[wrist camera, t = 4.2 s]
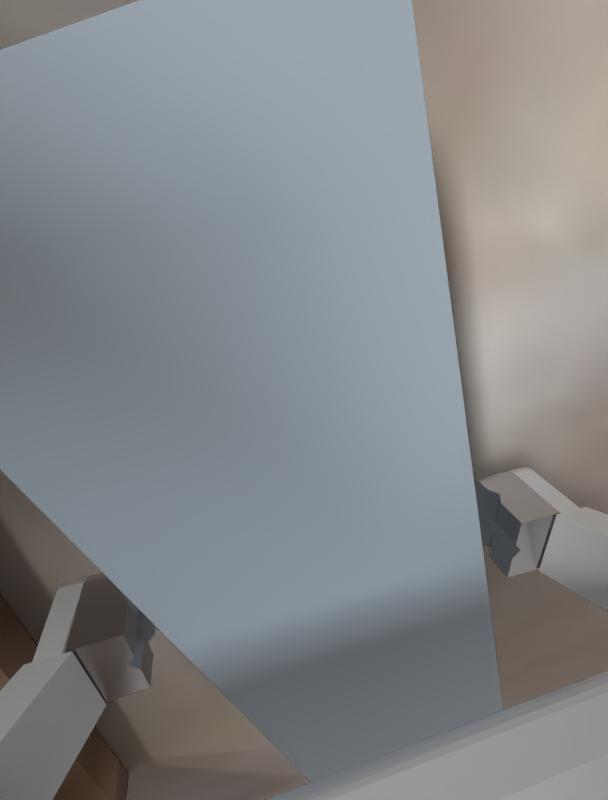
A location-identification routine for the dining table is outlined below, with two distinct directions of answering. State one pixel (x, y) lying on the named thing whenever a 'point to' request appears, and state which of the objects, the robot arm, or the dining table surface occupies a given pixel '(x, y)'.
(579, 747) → the robot arm
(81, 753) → the shelf rack
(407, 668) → the shelf board
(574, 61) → the dining table surface
